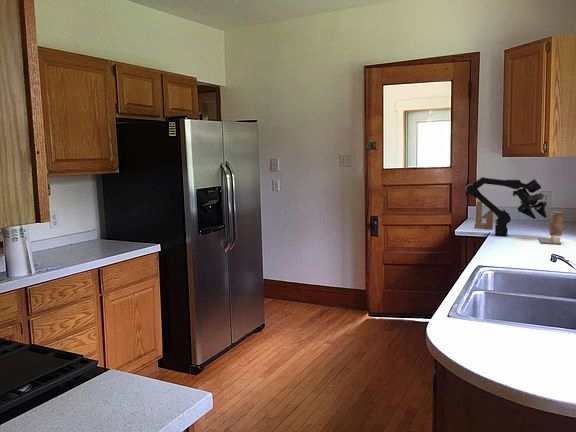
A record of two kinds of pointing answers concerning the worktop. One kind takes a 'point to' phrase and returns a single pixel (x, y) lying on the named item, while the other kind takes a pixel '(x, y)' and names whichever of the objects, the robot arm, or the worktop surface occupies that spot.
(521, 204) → the robot arm
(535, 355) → the worktop surface
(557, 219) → the post
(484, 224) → the wooden angular frame
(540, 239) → the stand
